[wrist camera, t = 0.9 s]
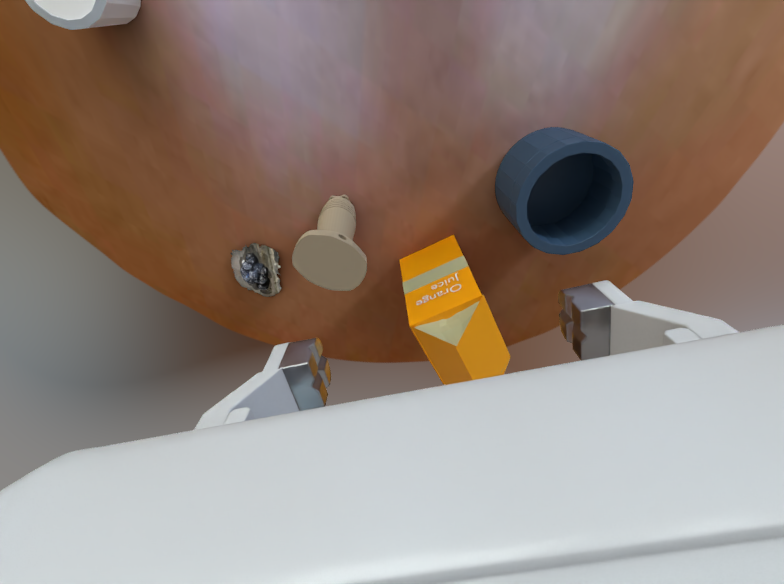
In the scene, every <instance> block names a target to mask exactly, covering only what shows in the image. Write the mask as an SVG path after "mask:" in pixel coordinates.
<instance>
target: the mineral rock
mask: <svg viewBox="0 0 784 584" xmlns="http://www.w3.org/2000/svg"><path fill="white" fill-rule="evenodd" d="M232 251H233V250H232ZM231 255H232V258H231V261H232V263H231V264H232V268H233V269H234V271H235V272H234V274H235V278H236V280H237V281H238V282H239V283H240V284H241V286H242V287H246V288H247V289H248V290H253V291H255V293H256V292H257V293H258V294H261V295H262V296H265V297H270V296H274V295H275V294H277V293H279V291H280V290H281V288H282V287H280V286H279V285H280V279H279V278H278V277H277V273H278V272H277V270H278V268H280V267H281V266H280V265H278V263H279V262H278V261H279V260H278V259H279V256H278V252H276V251H275V250H274V249H271V248H270V247H268V246H264V245H262V246H261V247H259V245H258V244H256V243H253V244H251V245H250V246H249V247H247V246H246V245H245V247H243V249H242V251H238V250H235V251H233V253H231ZM278 274H279V273H278ZM279 275H280V274H279Z"/></svg>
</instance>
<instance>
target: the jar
mask: <svg viewBox="0 0 784 584" xmlns="http://www.w3.org/2000/svg"><path fill="white" fill-rule="evenodd" d="M632 191H633V177H632V173H631V169H630V165H629V163H628V162H627V160H626V159H625V158H624V156H623V155H622V154H621V152H620V151H619V150H617V149H615V148H613V147H612V146H610V145H608V144H606V143H604V142H601V141H599V140H596V139H594V138H591V137H589V136H586V135H584V134H581V133H579V132H576V131H573V130H570V129H565V128H559V127H551V128H544V129H541V130H537V131H535V132H533V133H530V134H529V135H527V136H525V137H524V138H522V139H521V140H519V141H518V142H517V143H516V144H515V145H514V146H513V147H512V148H511V149H510V150H509V151H508V153H507V154H506V156H505V157H504V159H503V160H502V162H501V164H500V167H499V169H498V172H497V176H496V181H495V193H496V199H497V202H498V204H499V207H500V208H501V210H502V212H503V214H504V215H505V216H506V217H507V218H508V220H509V221H510V222H511V223H512V224H513V226H514V227H515V228H516V229H517V230H518V232H519V233H520V234H521V235H522V236H523V237H524V238H525V240H526V241H527V242H528V243H529V244H530V245H531V246H532V247H534V248H536V249H538V250H541V251H543V252H545V253H549V254H560V255H565V254H570V253H575V252H580V251H583V250H585V249H587V248H589V247H591V246H593V245H595V244H597V243H599V242H600V241H601V240H603V239H604V238H605V237H606V236H607V235H609V234H610V233H611V232H612V231H613V230H614V229H615V227H616V226H617V225H618V223H619V222H620V221H621V219H622V218H623V217H624V215H625V213H626V211H627V208H628V206H629V204H630V201H631V198H632Z"/></svg>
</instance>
